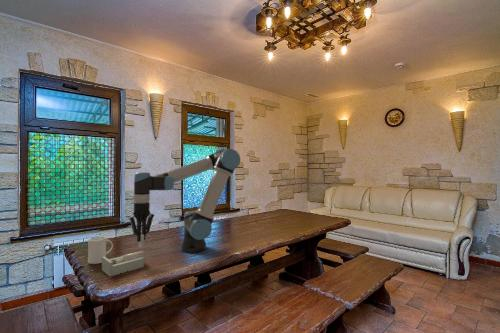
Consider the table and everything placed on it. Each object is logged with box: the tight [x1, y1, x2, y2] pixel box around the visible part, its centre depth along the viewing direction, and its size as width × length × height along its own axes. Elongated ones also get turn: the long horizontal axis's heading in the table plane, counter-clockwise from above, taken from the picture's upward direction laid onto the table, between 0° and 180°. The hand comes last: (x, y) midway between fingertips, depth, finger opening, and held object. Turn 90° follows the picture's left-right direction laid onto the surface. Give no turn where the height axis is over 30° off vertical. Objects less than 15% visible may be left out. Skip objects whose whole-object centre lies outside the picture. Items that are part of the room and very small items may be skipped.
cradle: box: [101, 256, 145, 278], centre depth 131 cm, size 16×10×6 cm, turn 138°
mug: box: [87, 236, 114, 265], centre depth 140 cm, size 12×8×12 cm
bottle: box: [113, 250, 146, 265], centre depth 133 cm, size 5×5×14 cm
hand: (141, 247), depth 137 cm, fingers closed
